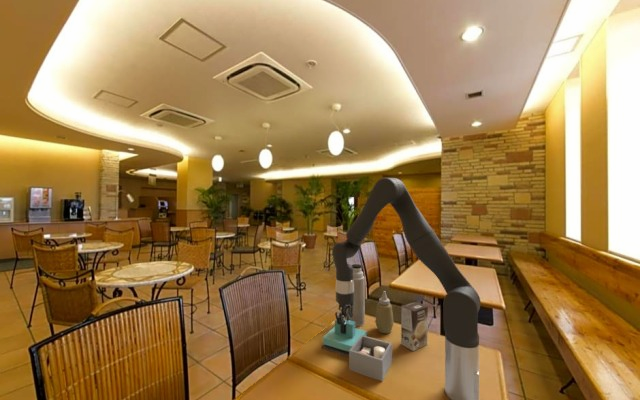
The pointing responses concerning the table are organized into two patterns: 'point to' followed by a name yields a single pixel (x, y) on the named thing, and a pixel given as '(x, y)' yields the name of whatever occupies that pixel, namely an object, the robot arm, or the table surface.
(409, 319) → the coffee box
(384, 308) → the squeeze bottle
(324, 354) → the table surface
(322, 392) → the table surface
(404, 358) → the table surface
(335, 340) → the lid
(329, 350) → the rubber mat
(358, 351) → the storage box
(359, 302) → the thermos bottle
